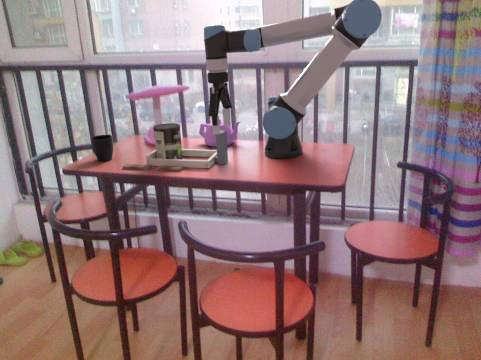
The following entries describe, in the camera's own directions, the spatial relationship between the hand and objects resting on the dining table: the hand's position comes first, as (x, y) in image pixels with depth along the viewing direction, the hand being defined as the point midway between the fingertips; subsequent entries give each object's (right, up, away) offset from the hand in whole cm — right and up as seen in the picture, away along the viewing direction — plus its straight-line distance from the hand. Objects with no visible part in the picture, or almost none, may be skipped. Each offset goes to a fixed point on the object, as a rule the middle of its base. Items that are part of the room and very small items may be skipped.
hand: (222, 129), depth 157 cm
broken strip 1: (-32, -14, +3) cm, 35 cm away
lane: (-13, -11, +8) cm, 19 cm away
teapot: (-2, -3, +31) cm, 31 cm away
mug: (-48, -10, +17) cm, 52 cm away
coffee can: (-21, -11, +10) cm, 26 cm away
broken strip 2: (-19, -15, -1) cm, 24 cm away
